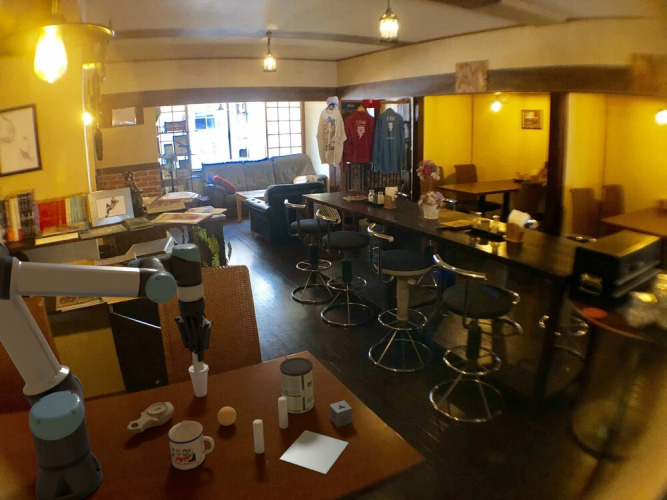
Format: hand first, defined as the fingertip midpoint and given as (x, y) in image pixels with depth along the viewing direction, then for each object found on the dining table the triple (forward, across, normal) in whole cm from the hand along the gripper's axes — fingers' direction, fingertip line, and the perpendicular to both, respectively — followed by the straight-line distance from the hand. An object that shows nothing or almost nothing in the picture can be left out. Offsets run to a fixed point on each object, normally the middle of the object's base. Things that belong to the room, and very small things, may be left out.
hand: (198, 370), depth 151 cm
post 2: (+16, -25, -6) cm, 31 cm away
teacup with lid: (+16, -11, +17) cm, 26 cm away
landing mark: (+16, -39, 0) cm, 42 cm away
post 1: (+16, -25, +6) cm, 31 cm away
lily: (+16, -13, -32) cm, 38 cm away
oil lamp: (+16, +11, +10) cm, 22 cm away
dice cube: (+16, -40, -16) cm, 46 cm away
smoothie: (+16, +10, -10) cm, 21 cm away
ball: (+13, -9, 0) cm, 16 cm away
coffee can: (+16, -23, -18) cm, 34 cm away
